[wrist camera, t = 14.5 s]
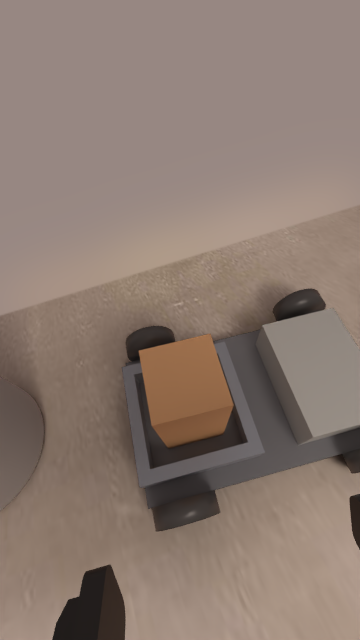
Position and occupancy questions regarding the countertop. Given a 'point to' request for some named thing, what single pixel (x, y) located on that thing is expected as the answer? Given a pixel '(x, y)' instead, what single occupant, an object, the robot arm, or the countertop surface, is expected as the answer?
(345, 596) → the countertop surface
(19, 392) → the cylinder vase
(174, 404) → the orange rectangular block
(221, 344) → the toy car chassis
